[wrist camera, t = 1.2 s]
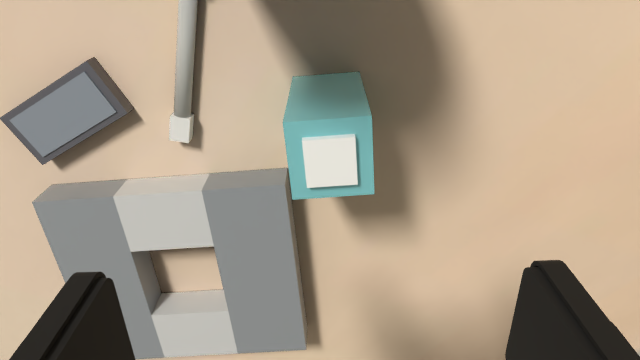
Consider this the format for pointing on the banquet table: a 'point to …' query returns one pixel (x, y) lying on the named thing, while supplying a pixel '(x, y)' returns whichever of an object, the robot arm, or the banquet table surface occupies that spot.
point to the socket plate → (188, 232)
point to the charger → (329, 136)
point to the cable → (184, 73)
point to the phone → (67, 111)
